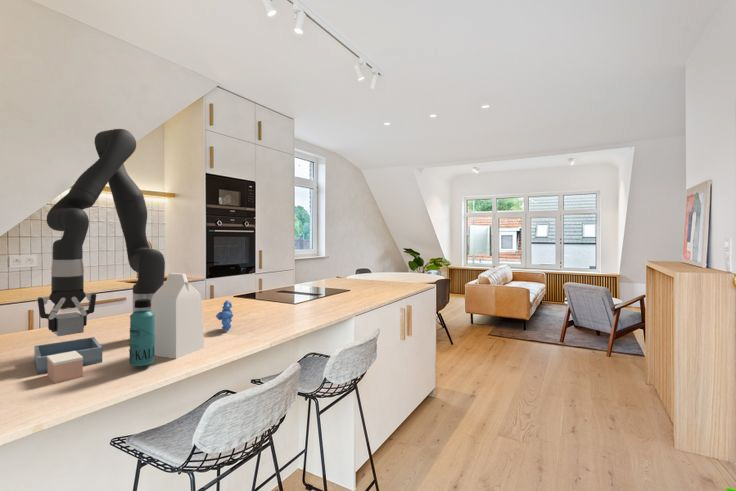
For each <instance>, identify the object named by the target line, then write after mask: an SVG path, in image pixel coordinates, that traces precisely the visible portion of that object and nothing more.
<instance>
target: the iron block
mask: <svg viewBox="0 0 736 491" xmlns="http://www.w3.org/2000/svg"><path fill="white" fill-rule="evenodd" d="M54 319H55V332H53V333H54V334H55V336H57V337H64V336H71V335H77V334H83V333H85V332H84V330H85V329H84V328H85V326H84V316H83V315H81V313H80V312H77V311H74V312H67V313H66V312H65V313H57V314H56V315H55V317H54Z"/></svg>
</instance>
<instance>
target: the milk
mask: <svg viewBox="0 0 736 491" xmlns="http://www.w3.org/2000/svg"><path fill="white" fill-rule="evenodd" d="M202 303H203V302H202V295H201V293H200V292H199V290H197V289H196V288H195V287H194V286H193V285H192V284H191V283H190V282H189V280H188V277H187V274H186V273H179V272H177V273H176V272H170V273H168V274H167V277H166V281H164V284H163V285H162V286H161V287H160V288H159V289H158V290H157V291H156V293H155V294H154V295H153V297H152V300H151V311H152V312H153V313H154V314H155V355H156V356H157V357H162V358H167V357H169V359H172V358H176V359H175V360H177V358H178V359H180V358H179V357H181V358H183V357H186V356H188V355H187V354H189V355H191V354H193V353H192V352H194V353H196V352H195V351H197V352H199V351H201V350H200V349H202V350H204V349H205V341H204V339H205V338H204V321H203V317H204V316H203V304H202ZM203 348H204V349H203ZM198 350H199V351H198ZM190 353H191V354H190ZM185 355H186V356H185ZM156 356H155V357H156ZM182 356H183V357H182Z"/></svg>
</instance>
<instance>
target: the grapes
mask: <svg viewBox="0 0 736 491" xmlns="http://www.w3.org/2000/svg"><path fill="white" fill-rule="evenodd" d="M232 307H233V305H232V302H231V301H230V300H224V302H223V306H222V307H221V308H222V309H221V311H220V312H217V313H216V315H215V317H216V319H217V320H219V321H220V322H221V325H222V327H221V328H222V330H223V331H224V332H228V331H229V330H230V329H231V327H232V324H231V322H232V321H233V319H232V318H233V317H234V313H233V311H232V310H231V308H232Z"/></svg>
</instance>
